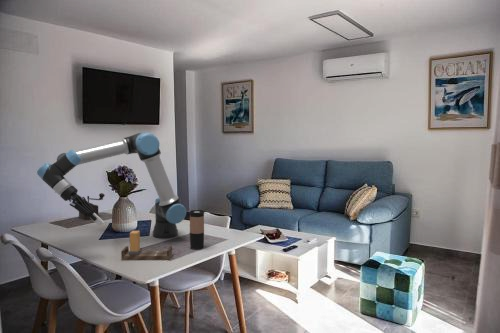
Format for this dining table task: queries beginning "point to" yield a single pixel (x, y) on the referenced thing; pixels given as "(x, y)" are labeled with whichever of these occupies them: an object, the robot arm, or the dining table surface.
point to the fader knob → (134, 243)
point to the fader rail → (147, 255)
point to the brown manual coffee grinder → (92, 206)
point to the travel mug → (197, 229)
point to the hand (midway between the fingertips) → (101, 224)
